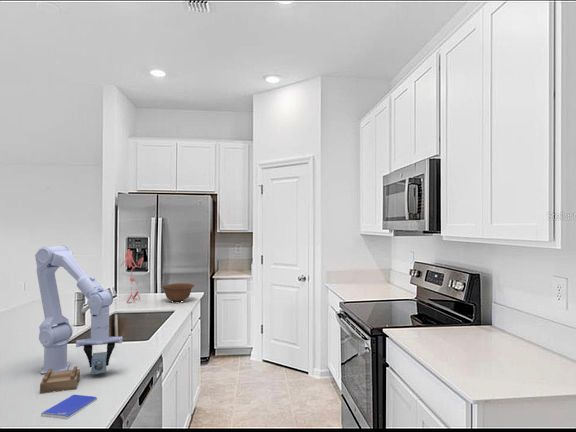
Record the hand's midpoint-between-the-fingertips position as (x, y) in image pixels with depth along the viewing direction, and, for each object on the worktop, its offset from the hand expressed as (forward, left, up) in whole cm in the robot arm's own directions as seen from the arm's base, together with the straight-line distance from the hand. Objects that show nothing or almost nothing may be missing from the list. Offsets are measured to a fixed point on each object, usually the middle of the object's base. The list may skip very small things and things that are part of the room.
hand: (99, 365), depth 144 cm
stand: (+6, -11, -3) cm, 13 cm away
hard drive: (+25, -6, -4) cm, 26 cm away
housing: (0, 0, -2) cm, 2 cm away
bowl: (-127, +40, -3) cm, 133 cm away
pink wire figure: (-138, +9, -3) cm, 138 cm away
